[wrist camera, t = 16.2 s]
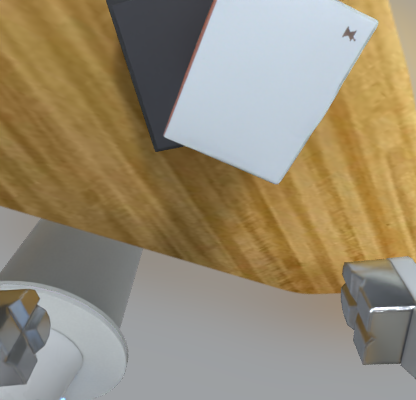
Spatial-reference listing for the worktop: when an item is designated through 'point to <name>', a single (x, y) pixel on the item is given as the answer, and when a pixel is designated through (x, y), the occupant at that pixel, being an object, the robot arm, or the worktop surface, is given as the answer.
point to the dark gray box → (158, 53)
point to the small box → (265, 79)
